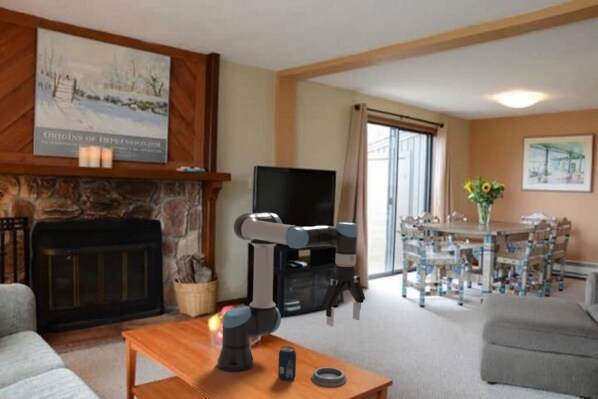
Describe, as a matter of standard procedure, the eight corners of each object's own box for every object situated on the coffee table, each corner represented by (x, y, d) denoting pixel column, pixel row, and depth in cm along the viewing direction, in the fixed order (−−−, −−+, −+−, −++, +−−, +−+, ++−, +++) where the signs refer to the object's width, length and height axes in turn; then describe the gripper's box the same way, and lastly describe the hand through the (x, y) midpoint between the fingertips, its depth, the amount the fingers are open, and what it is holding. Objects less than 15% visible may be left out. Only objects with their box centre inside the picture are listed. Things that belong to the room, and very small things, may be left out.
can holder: (304, 378, 192) (304, 371, 192) (328, 369, 202) (328, 363, 202) (329, 389, 182) (329, 383, 182) (353, 380, 192) (354, 374, 191)
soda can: (285, 373, 196) (286, 344, 196) (298, 378, 192) (299, 348, 191) (274, 378, 191) (275, 348, 190) (287, 383, 186) (288, 353, 186)
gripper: (327, 269, 164) (325, 330, 165) (375, 263, 180) (373, 319, 181) (313, 266, 170) (311, 325, 171) (361, 260, 186) (359, 314, 187)
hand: (343, 322), depth 176 cm, fingers open, 13 cm apart
